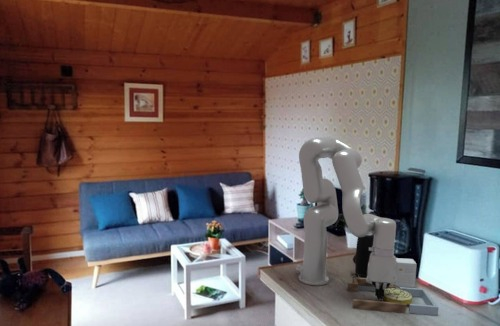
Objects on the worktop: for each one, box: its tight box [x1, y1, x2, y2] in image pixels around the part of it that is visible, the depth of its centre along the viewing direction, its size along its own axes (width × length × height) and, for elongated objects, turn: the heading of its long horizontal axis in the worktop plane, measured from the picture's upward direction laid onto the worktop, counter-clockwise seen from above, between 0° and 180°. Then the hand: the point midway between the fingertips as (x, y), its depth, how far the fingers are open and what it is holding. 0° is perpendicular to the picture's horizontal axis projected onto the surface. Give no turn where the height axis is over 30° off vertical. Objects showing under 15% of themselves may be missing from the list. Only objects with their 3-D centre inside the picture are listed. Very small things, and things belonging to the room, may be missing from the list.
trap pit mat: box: [358, 285, 376, 293], centre depth 167 cm, size 12×5×1 cm, turn 84°
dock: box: [398, 286, 439, 316], centre depth 155 cm, size 10×16×3 cm, turn 174°
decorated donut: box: [382, 287, 413, 307], centre depth 157 cm, size 10×11×4 cm
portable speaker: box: [354, 233, 374, 278], centre depth 181 cm, size 9×9×20 cm
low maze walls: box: [346, 276, 407, 314], centre depth 160 cm, size 18×22×3 cm
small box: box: [394, 257, 418, 288], centre depth 173 cm, size 8×6×10 cm
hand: (379, 297), depth 157 cm, fingers closed
